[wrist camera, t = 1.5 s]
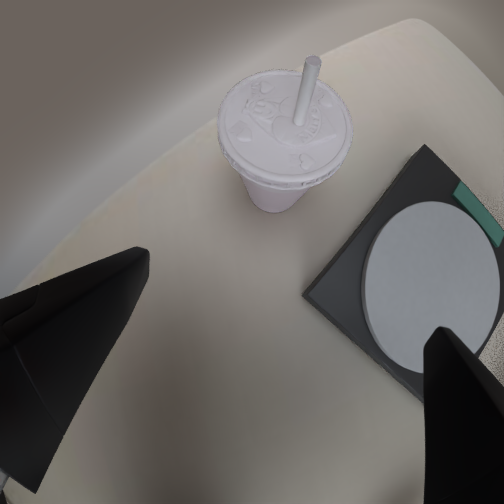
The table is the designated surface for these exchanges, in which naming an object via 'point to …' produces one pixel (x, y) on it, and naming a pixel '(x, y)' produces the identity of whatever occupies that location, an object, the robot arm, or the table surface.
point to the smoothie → (284, 133)
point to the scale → (416, 271)
